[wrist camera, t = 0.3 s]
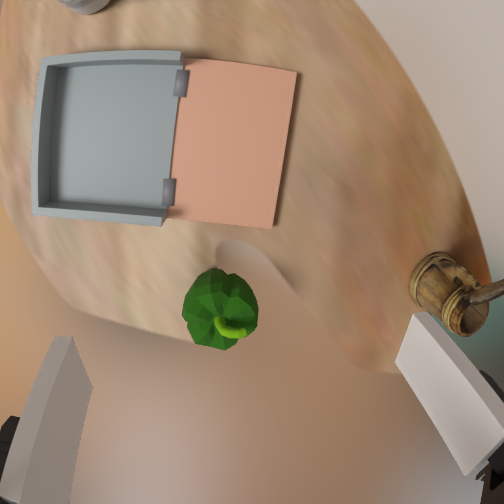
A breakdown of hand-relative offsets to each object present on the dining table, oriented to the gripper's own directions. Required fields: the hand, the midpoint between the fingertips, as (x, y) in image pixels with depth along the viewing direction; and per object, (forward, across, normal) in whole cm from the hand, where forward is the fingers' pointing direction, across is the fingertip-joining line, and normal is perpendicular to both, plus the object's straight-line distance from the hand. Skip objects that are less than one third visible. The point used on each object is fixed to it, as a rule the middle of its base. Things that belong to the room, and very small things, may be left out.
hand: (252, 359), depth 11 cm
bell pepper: (+26, 0, -14) cm, 30 cm away
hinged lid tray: (+28, -7, +5) cm, 29 cm away
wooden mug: (+25, +31, -11) cm, 41 cm away
